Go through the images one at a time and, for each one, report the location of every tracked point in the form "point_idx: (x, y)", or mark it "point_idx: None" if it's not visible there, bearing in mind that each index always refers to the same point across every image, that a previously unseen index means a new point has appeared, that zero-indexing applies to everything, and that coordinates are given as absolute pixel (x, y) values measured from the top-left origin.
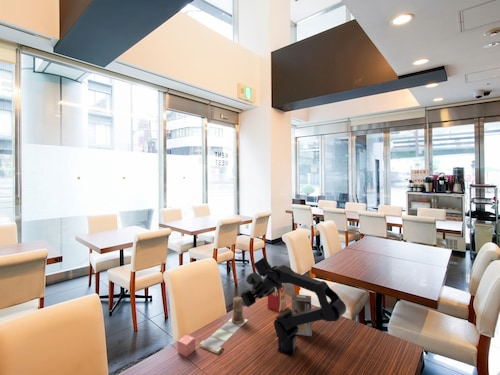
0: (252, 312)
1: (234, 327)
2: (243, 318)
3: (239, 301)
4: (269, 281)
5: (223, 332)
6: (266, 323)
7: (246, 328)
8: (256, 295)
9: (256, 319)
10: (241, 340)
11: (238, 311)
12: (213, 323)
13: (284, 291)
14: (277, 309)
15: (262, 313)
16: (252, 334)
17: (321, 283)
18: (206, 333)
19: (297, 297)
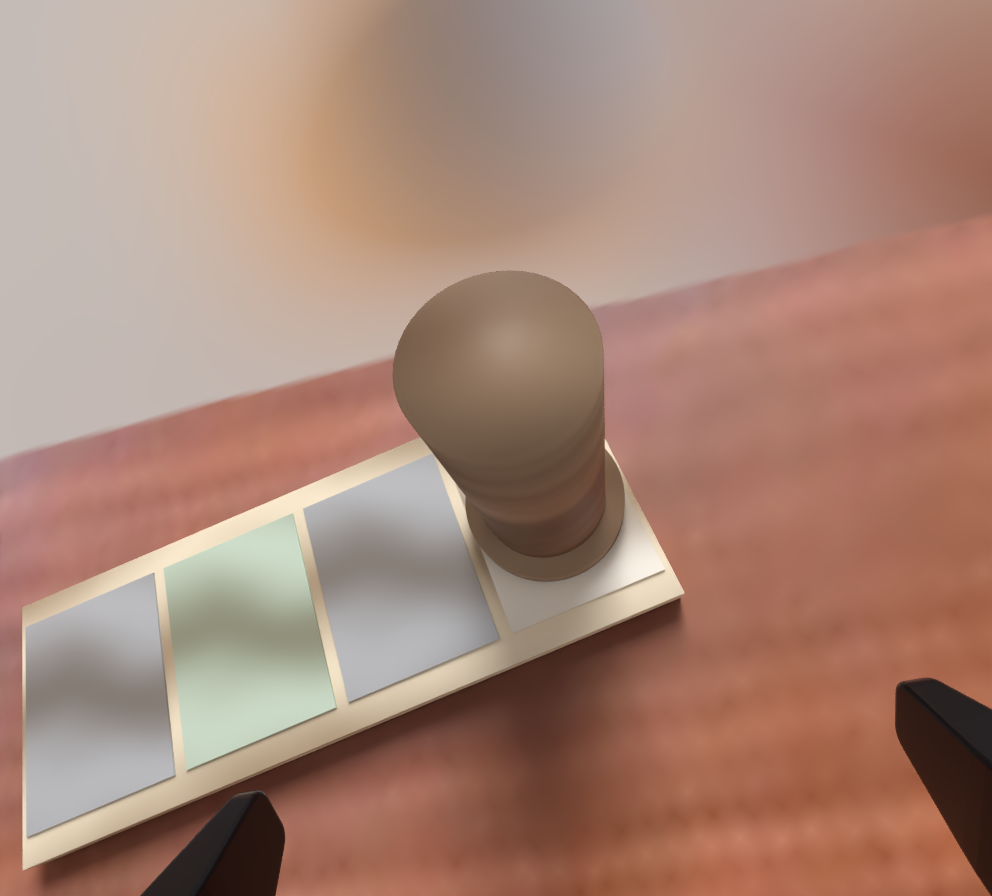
0: (843, 423)
1: (424, 604)
2: (605, 537)
3: (469, 460)
4: None
5: (276, 606)
6: (894, 773)
7: (569, 673)
8: (986, 791)
9: (805, 589)
10: (371, 846)
11: (488, 516)
12: (349, 375)
13: None
14: None
15: (973, 519)
16: (555, 847)
17: None
18: (207, 478)
19: None
